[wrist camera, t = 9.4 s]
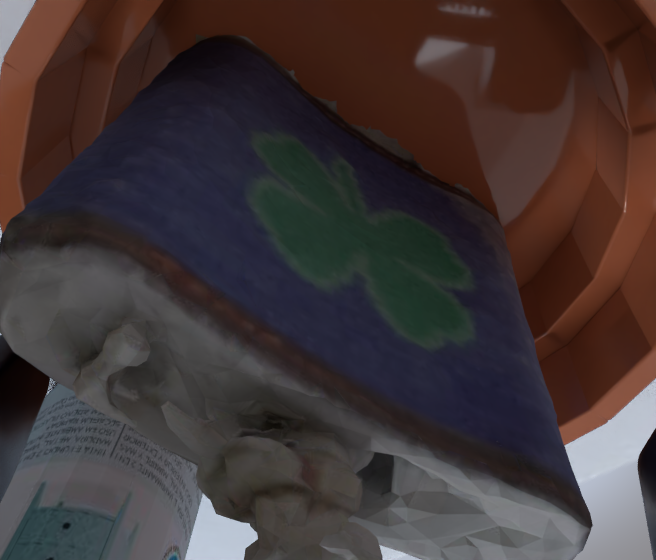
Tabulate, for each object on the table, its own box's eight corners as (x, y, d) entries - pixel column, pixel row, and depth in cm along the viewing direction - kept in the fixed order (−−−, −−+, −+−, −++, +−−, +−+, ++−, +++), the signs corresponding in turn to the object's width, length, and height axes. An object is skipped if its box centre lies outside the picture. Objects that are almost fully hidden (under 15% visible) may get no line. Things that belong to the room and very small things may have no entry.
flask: (523, 225, 16) (685, 688, 7) (447, 297, 17) (506, 753, 9) (208, 1, 13) (-126, 294, 5) (151, 108, 15) (-182, 481, 6)
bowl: (119, 327, 20) (51, 452, 16) (59, -211, 12) (-109, -240, 8) (541, 383, 20) (581, 523, 16) (758, -118, 12) (950, -97, 8)
